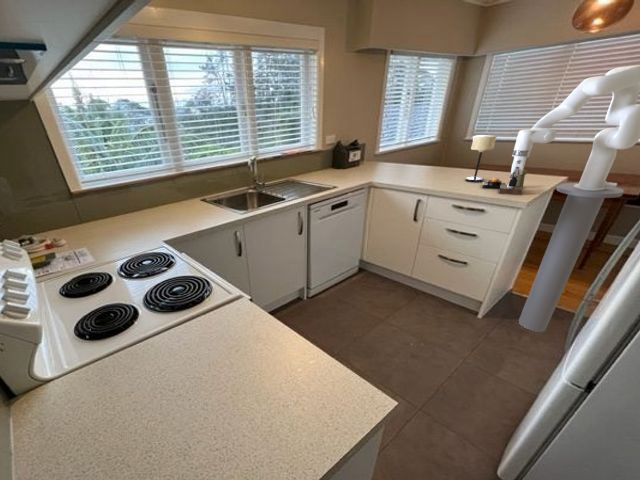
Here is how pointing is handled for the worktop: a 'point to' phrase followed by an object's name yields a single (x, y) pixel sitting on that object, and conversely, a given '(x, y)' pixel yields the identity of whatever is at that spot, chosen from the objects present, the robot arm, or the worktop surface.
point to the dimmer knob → (510, 186)
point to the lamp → (481, 145)
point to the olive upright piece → (521, 178)
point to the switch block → (492, 184)
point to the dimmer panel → (510, 190)
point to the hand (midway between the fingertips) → (511, 184)
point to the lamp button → (495, 179)
